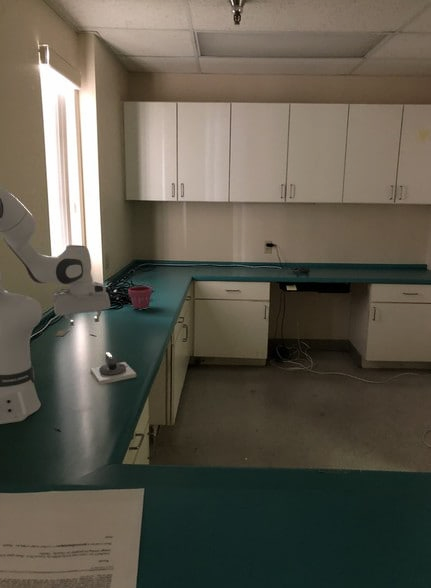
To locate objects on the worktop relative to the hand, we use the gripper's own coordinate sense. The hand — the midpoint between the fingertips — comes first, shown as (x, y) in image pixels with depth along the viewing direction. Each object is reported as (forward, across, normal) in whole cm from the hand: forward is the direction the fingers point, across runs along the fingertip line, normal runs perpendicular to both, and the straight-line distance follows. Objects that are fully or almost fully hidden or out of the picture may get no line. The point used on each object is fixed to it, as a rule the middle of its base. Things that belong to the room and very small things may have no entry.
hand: (84, 323), depth 169 cm
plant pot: (+23, +49, +91) cm, 106 cm away
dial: (+19, +8, -4) cm, 21 cm away
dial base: (+21, +8, -5) cm, 23 cm away
